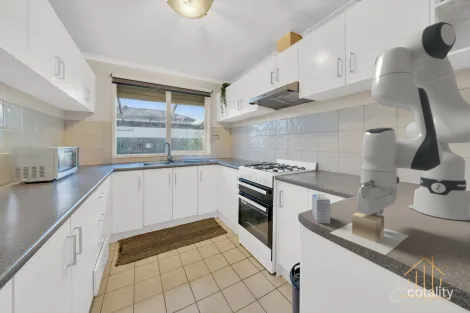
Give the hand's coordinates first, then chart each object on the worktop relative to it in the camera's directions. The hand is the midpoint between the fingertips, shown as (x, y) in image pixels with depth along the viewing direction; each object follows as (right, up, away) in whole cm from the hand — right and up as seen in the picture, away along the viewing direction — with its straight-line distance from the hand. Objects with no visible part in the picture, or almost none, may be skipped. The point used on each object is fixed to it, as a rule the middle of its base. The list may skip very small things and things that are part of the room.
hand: (376, 222), depth 58 cm
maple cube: (-3, 0, -2) cm, 3 cm away
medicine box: (-13, -3, +9) cm, 17 cm away
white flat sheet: (-5, -3, -3) cm, 6 cm away
